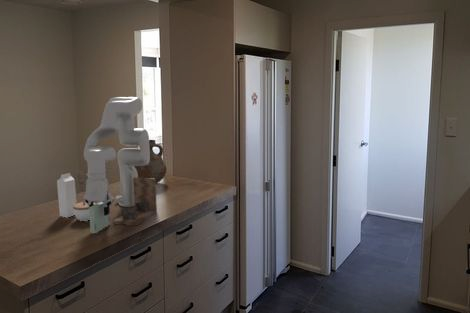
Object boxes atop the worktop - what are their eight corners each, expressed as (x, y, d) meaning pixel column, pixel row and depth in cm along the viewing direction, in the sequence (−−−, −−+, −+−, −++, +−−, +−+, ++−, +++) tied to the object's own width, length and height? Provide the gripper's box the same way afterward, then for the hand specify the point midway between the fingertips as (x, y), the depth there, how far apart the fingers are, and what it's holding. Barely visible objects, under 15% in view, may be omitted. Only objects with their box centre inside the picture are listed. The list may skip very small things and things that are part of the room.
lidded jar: (81, 224, 194) (79, 205, 192) (69, 220, 201) (68, 201, 199) (101, 219, 202) (99, 201, 200) (89, 214, 209) (88, 197, 207)
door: (90, 233, 183) (88, 207, 180) (105, 224, 194) (104, 200, 192) (95, 233, 182) (93, 207, 180) (110, 224, 193) (108, 200, 191)
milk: (59, 216, 206) (55, 174, 202) (69, 213, 211) (65, 172, 207) (68, 218, 203) (64, 175, 199) (77, 215, 209) (74, 173, 205)
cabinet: (113, 223, 195) (111, 187, 192) (136, 210, 216) (134, 177, 213) (136, 225, 192) (134, 188, 189) (156, 211, 213) (155, 178, 210)
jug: (135, 181, 282) (133, 138, 277) (166, 180, 286) (165, 137, 280) (133, 189, 261) (131, 143, 256) (167, 187, 265) (165, 142, 259)
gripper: (75, 177, 182) (78, 215, 185) (109, 179, 178) (111, 218, 181) (85, 173, 189) (88, 210, 193) (118, 175, 185) (120, 213, 188)
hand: (99, 213), depth 187 cm, fingers open, 6 cm apart
